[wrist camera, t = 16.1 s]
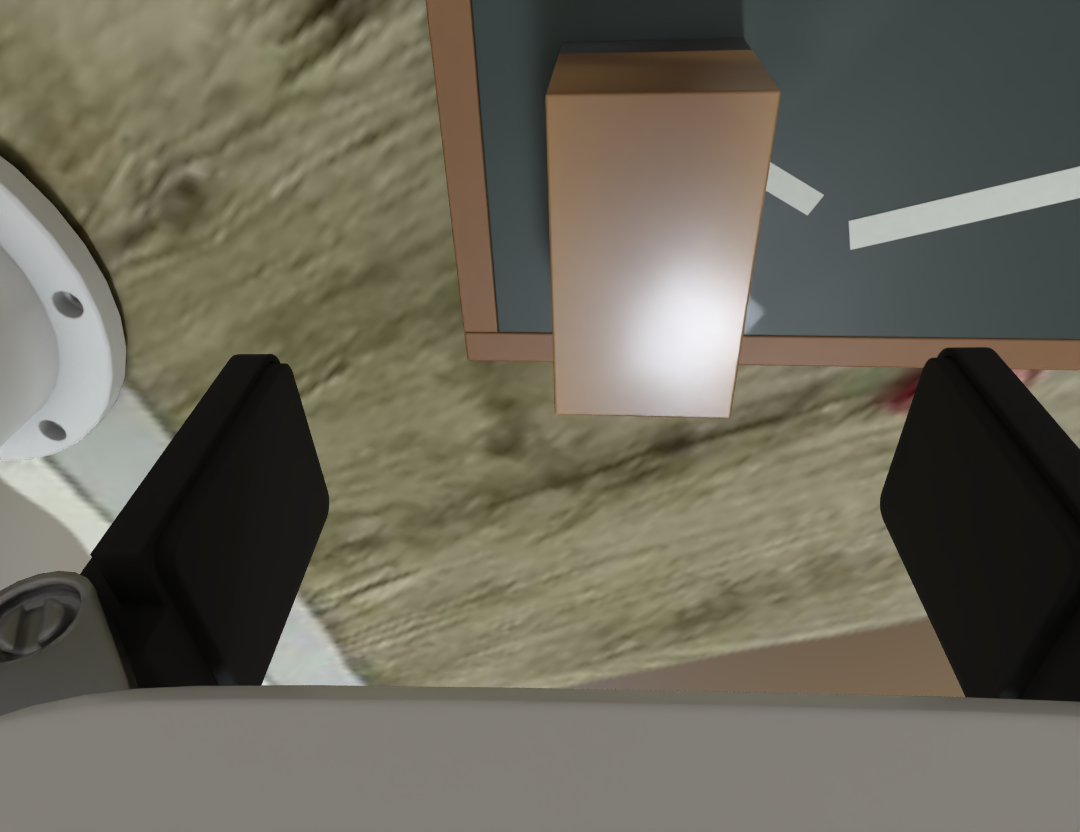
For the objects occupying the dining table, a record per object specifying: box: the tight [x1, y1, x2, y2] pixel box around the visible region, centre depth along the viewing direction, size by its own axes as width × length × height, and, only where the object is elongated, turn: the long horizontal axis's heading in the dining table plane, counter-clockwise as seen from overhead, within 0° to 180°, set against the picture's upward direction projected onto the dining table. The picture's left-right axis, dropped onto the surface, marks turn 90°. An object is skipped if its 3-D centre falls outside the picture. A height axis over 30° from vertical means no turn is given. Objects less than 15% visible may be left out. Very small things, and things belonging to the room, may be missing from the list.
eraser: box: [545, 38, 781, 418], centre depth 16 cm, size 4×7×4 cm, turn 2°
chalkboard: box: [426, 0, 1080, 370], centre depth 16 cm, size 24×14×1 cm, turn 92°
